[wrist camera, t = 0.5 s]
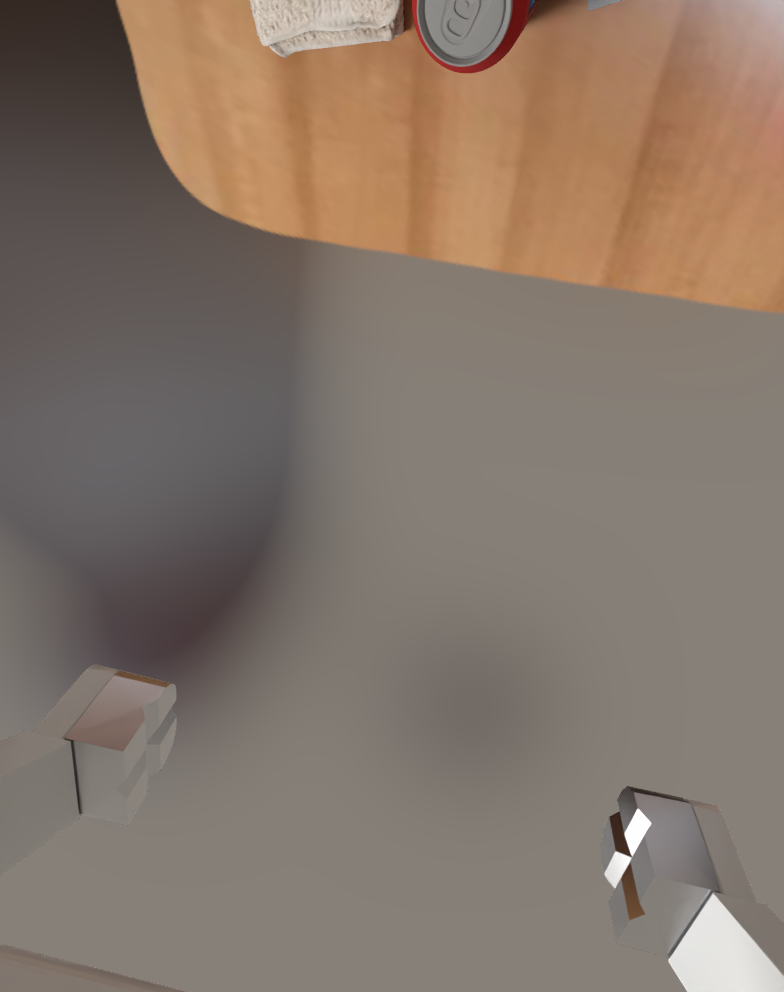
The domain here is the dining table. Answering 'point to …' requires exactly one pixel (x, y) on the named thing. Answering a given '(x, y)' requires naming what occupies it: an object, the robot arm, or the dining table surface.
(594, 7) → the hole block
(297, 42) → the washcloth
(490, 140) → the dining table surface
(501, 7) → the beverage can
